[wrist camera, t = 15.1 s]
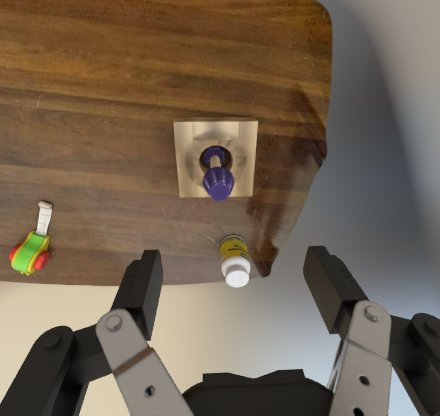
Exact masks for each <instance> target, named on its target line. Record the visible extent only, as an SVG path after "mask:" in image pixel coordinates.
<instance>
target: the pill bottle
mask: <svg viewBox="0 0 440 416" xmlns="http://www.w3.org/2000/svg"><path fill="white" fill-rule="evenodd" d="M220 254H221V269H222V273H223V275H224V276H225V277H226V282H227V284H228V285H230V286H232V287H241V286H244V285H245V284H246V283H247V282H248V280H249V274H248V273H249V272H250V262H249V257H248V252H247V247H246V243H245V241H244V239H243V238H241V237H239V236H236V235H231V236H228V237H226V238H224V239H223V240H222V242H221V244H220Z"/></svg>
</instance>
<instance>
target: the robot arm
mask: <svg viewBox="0 0 440 416" xmlns="http://www.w3.org/2000/svg"><path fill="white" fill-rule="evenodd" d="M303 274H304V278H305V280H306V283H307V285H308V287H309V289H310V291H311V293H312V296H313V298H314V300H315V302H316V305H317V307H318V309H319V311H320V313H321V316H322V318H323V320H324V322H325V324H326V327H327V329H328V331H329V333H330V334H339V335H340V338H341V340H340V343H339V346H338V350H337V353H336V357H335V361H334V365H333V368H332V371H331V375H330V378H329V381H328V384H327V387H325V386H323V385H321V384H320V383H318V382H315V381H313V380H311V379H308V378H305V376H304V372H303V369H296V370H278V371H275V372H272V373H269V374H266V375H264V376H261V377H258V378H248V377H244V376H240V375H235V374H232V373H209V374H208V373H207V374H203V382H200V383H198V384H196V385H194V386H192V387H190V388H189V389H187V390H186V391H185V392H184V393H183V394H181V393H180V391H179V389H178V388H177V386H176V384H175V383H174V381H173V379H172V378H171V376H170V374H169V373H168V371H167V369H166V368H165V366H164V364H163V363H162V361H161V359H160V358H159V356H158V354H157V353H156V351H155V350H154V349H153V348H152V347H151V348H150V346H149V345H148V343H147V341H150V340H151V336H152V331H153V326H154V321H155V316H156V311H157V307H158V302H159V297H160V292H161V287H162V282H163V269H162V263H161V256H160V251H159V250H144V252H143V255H142V258H141V260H134V261H133V262H132V263H131V264H130V265H129V266H128V267H127V269H126V272H125V274H124V277H123V279H122V282H121V284H120V287H119V289H118V292H117V294H116V297H115V299H114V302H113V305H112V307H111V310H110V311H109V312H108V313H106V314H105V315H103V316H102V317H101V318H100V319H99V321H98V323H97V324H95V325H92V326H90V327H86V328H83V329H80V330H77V331H74V332H73V331H72V329H71V328H69V327H67V326H57V327H54V328H52V329H50V330H48V331H46V332H45V333H43V334H42V335H41V336H40V337H39V338H38V339H37V340H36V341H35V343H34V344H33V346H32V348H31V350H30V352H29V353H28V355H27V357H26V359H25V361H24V362H23V364H22V366H21V368H20V370H19V371H18V373H17V375H16V377H15V379H14V380H13V382H12V384H11V386H10V388H9V389H8V391H7V393H6V395H5V397H4V399H3V400H2V402H1V404H0V416H79V413H80V410H81V407H82V404H83V400H84V397H85V394H86V391H87V388H88V385H89V382H90V381H93V380H96V379H98V378H101V377H103V376H106V375H109V374H111V373H113V375H114V377H115V380H116V382H117V385H118V387H119V389H120V392H121V394H122V396H123V399H124V401H125V403H126V406H127V408H128V411H129V413H130V416H388V408H389V396H390V384H391V372H392V367H393V368H394V370H395V372H396V373H397V375H398V377H399V379H400V381H401V382H402V384H403V386H404V388H405V390H406V392H407V393H408V395H409V397H410V399H411V401H412V402H413V404H414V406H415V407H416V409H417V411H418V413H419V415H420V416H440V378H439V377H440V319H438V318H436V317H434V316H432V315H429V314H425V313H418V314H415V315H414V316H413V318H412V319H411V320H409V319H405V318H401V317H397V316H392V315H389V313H388V312H387V311H386V310H385V309H384V308H383V307H382V306H380V305H379V304H377V303H374V302H371V301H369V299H368V298H367V296H366V295H365V293H364V292H363V290H362V289H361V287H360V286H359V285H358V283H357V282H356V280H355V279H354V278H353V277H352V274H351V273H350V271H348V268H347V267H346V266H345V264H344V263H343V261H341V260H340V259H339V258H337V257H336V256H335V255H330V254H329V252H328V251H327V249H326V248H325V247H324V246H309V247H308V250H307V254H306V258H305V263H304V267H303ZM434 370H435V371H434ZM437 374H438V375H437Z"/></svg>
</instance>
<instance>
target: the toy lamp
mask: <svg viewBox="0 0 440 416" xmlns="http://www.w3.org/2000/svg"><path fill="white" fill-rule="evenodd" d="M203 158H204V161H205V163H206V164H207V165H209V166H211V169H209V170H208V171H207V172H206V173H205V175H204V177H203V187H204V189H205V191H206V192H207V193H208V195H209V196H210V197H211V198H212V199H213V200H215V201H224V200H226V199H227V198H228V197H229V196H230V194H231V192H232V189H233V186H234V177H233V175H232V173H231V172H230V171H229V170H228V169H226V168H224V167H221V164H222V163H223V162H224V160H225V152H224V150H223V148H221V147H220V146H218V145H213V146H210V147H208V148H206V149H205V151H204V154H203Z"/></svg>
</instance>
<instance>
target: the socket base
mask: <svg viewBox="0 0 440 416" xmlns="http://www.w3.org/2000/svg"><path fill="white" fill-rule="evenodd" d="M173 127H174V138H175V150H176V161H177V172H178V183H179V194H180V197H210V196H209V195H208V193H207V192H206V191H205V189H204V187H203V177H204V175H205V173H206V172H207V171H208V170H209V168H207V167H205V166H204V165H203V164H202V162H201V160H200V155H201V153H202V152H203V151H204V150H205V149H206V148H208V147H210V146H213V145H220V146H222V147H225V148H226V149H227V150H228V151H229V152H230V153H231V159H230V161H229V163H228V164H227V165H226V166H225V167H224V168H226V169H228V170H229V171H230V172H231V173H232V175H233V177H234V186H233V189H232V192H231V194H230V196H229V197H231V196H252V192H253V179H254V166H255V153H256V140H257V128H258V121H257V120H256V119H255V117H176V118H175V119H174V121H173Z"/></svg>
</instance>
